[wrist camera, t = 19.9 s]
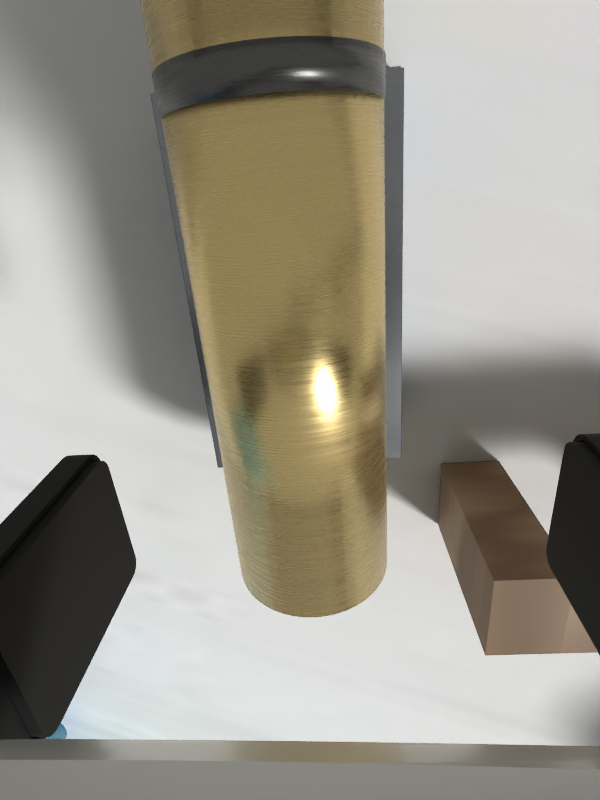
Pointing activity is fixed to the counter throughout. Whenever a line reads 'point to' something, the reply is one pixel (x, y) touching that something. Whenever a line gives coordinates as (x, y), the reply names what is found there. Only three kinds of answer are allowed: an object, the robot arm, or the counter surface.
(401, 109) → the cradle
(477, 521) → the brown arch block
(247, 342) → the axle
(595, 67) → the counter surface
